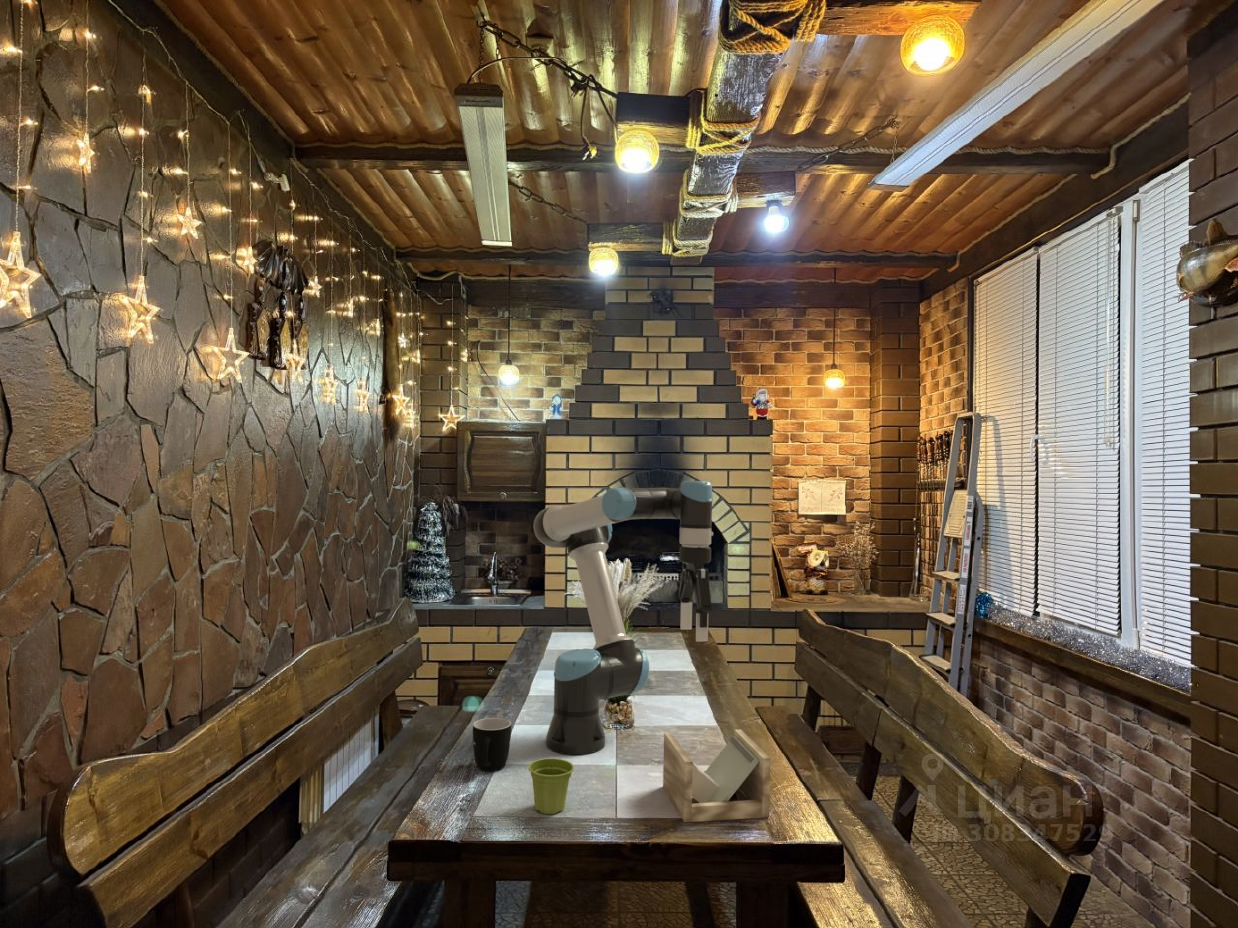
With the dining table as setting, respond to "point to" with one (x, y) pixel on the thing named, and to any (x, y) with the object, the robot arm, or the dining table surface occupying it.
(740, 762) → the trapdoor
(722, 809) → the hatch frame
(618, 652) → the robot arm
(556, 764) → the plant pot
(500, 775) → the dining table surface
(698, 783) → the beige block
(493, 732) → the mug
